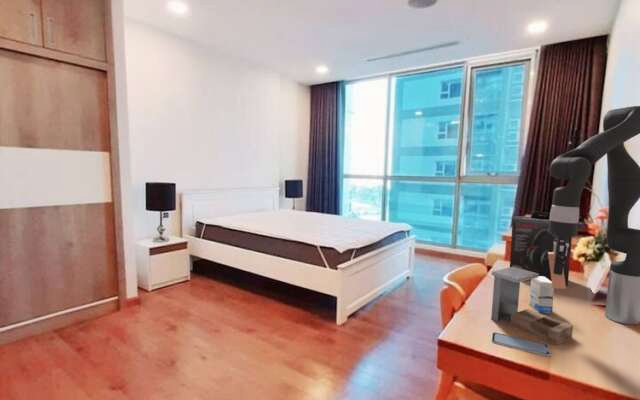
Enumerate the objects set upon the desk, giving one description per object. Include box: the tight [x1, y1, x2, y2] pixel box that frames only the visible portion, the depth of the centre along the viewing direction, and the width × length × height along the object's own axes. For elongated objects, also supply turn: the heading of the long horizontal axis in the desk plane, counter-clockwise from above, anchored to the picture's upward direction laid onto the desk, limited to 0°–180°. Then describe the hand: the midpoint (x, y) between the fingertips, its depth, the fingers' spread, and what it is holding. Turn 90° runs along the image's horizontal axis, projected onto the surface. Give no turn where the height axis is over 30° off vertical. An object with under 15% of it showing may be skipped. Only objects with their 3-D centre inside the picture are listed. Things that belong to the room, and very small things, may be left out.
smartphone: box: [491, 332, 551, 357], centre depth 101 cm, size 7×1×15 cm
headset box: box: [509, 211, 573, 286], centre depth 164 cm, size 25×12×33 cm, turn 54°
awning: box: [490, 266, 539, 323], centre depth 117 cm, size 13×9×17 cm
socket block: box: [509, 308, 574, 346], centre depth 109 cm, size 10×14×4 cm
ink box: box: [528, 276, 555, 314], centre depth 128 cm, size 9×5×12 cm, turn 168°
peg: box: [548, 252, 567, 289], centre depth 108 cm, size 4×4×11 cm
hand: (557, 272), depth 107 cm, fingers closed on peg, 3 cm apart
